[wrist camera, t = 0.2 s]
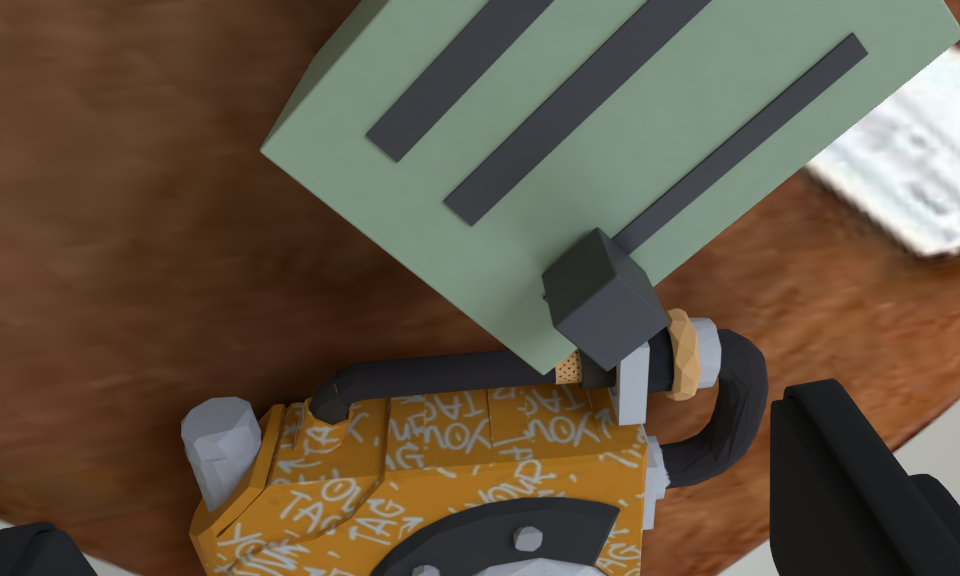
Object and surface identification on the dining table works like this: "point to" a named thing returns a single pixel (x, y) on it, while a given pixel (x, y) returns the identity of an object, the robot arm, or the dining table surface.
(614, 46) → the toaster
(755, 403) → the device
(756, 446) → the dining table surface
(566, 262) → the slider
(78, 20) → the dining table surface
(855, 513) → the robot arm
